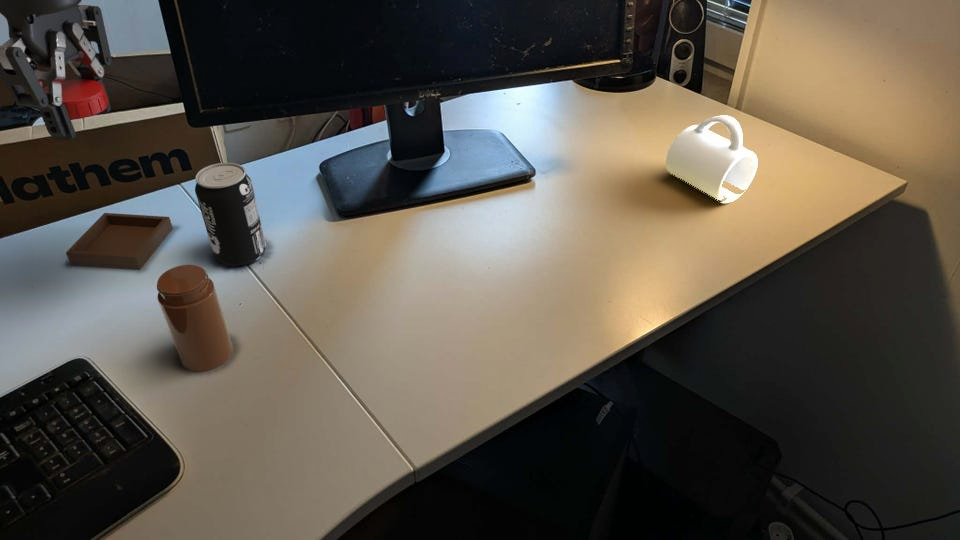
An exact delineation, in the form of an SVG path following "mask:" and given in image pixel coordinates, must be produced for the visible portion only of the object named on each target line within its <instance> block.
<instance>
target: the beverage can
mask: <svg viewBox="0 0 960 540" xmlns="http://www.w3.org/2000/svg"><path fill="white" fill-rule="evenodd" d="M195 182H196V183H195V187H194V193H195V195H196V199H197V203H198V206H199V209H200V214H201V216H202V220H203V224H204V226H205V229H206V233H207V237H208V241H209V243H210V246H211V247H210V248H211V250H212V253H213V257H214V258H215V260H217V262H220V263H222V264H223V265H224V266H225V265H226V266H228V267H229V266H230V267H244V266H249V265H251V264H253V263H254V262H257V261H258V260H259V259H260V258H261V257H262V255H263V254H264V253H265V251H266V248H267V243H266V237H265V233H264V229H263V225H262V220H261V216H260V212H259V208H258V202H257V200H256V195H255V191H254V186H253V182H252V179H251V177H250V176H249V175H248V174H247V173H246V169H245V167H243V165H241V164H239V163H236V162H235V163H234V162H219V163H214V164H209V165H207V166H205V167H202V168H201V169H200V170H199V171H198V172H197V173H196V175H195Z"/></svg>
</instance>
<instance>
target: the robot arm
mask: <svg viewBox="0 0 960 540" xmlns="http://www.w3.org/2000/svg"><path fill="white" fill-rule="evenodd" d="M80 3H82V0H0V15H2V16H3V17H4V19H5V20H6V23H7V26H8V37H9V39H8V40H7V41H5V42H4V43H3V44H2V45H0V78H1V80H2V82H3V83H4V85H5V86H6V88H7V90H8V92H9V94H10V95H11V97H12V98H13V101H14V102H15V104H16V105H17V106H19V107H35V108H37V110H38V111H39V113H40V116H41V119H42V121H43V123H44V127H45V128H46V131H47V133H48V134H49V135H50V136H51V137H52V138H53V139H55V140H59V141H60V140H62V141H71V140H73V139H75V138H76V136H77V133H76V129H75V127H74V125H73V121H72V120H71V119H70V117H69V114H68V111H67V109H66V106H65V103H62V88H61V83H62V81H66V65H67V64H68V65H69V66H70V67H71V68H72V70H73V71H74V73H75V74H76V75H77V76H79V77H80V78H78V79H87V80H94V81H97V82H99V83H101V84H102V86H103V88H104V90H105V92H106V95H107V98H108V106H107V108H106V109H105V110H103V111H102V112H100V113H99V114H102V115H104V114H105V115H106V114H108V113H109V112H110V111H111V110H112V106H111V103H110V97H109V95H108V91H107V89H106V85H105V82H104V80H103V77H104V76H105V69H104V68H105V67H106V66H111V65H112V63H113V58H112V54H111V49H110V45H109V40H108V36H107V32H106V31H107V30H106V27H105V23H104V16H103V13H102V10H101V8H100V6H98V5H89V4H80ZM92 42H93V43H95V44H96V46H97V49H98V52H97V51H96V49H95V48H94V47H93V45H92ZM37 66H39V67H43V68H50V70H49V71H41V70H39V69H38V67H37ZM43 81H46V82H47V86H48V92H49V93H46V92H44V90H43V88H44V87H43ZM24 87H25V88H26V90H27V91H28V92H27V91H26V90H25V88H24Z"/></svg>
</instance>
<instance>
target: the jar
mask: <svg viewBox="0 0 960 540" xmlns="http://www.w3.org/2000/svg"><path fill="white" fill-rule="evenodd" d="M156 290H157V292H158V293H157V301H158V304H159V306H160V307H159V308H160V310H161V312H162V314H163V318H164V320H165V322H166V325H167V327H168V330H169V333H170V335H171V338H172V341H173V343H174V346H175V349H176V352H177V354H178V357H179V359H180V362H181V364H182V366H183V367H184V368H185V369H187V370H188V371H192V372H207V371H211V370H214V369H216V368H219V367H221V366H222V365H224V364H225V363H226V362H228V360H229V359H230V358H231V356H232V355H233V352H234V351H233V350H234V346H233V342H232V339H231V335H230V332H229V330H228V326H227V323H226V319H225V317H224V313H223V309H222V306H221V303H220V300H219V297H218V293H217V290H216V287H215V284H214V281H213V280H212V279H211V278H210V277H209V275H208V273H207V272H206V270H205V269H204V268H203V267H201V266H199V265H196V264H182V265H177V266H175V267H171V268H170V269H167V270H166V271H164V272H163V273H162V274H161V275H160V276H159V277H158V279H157V282H156Z"/></svg>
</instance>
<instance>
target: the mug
mask: <svg viewBox="0 0 960 540" xmlns="http://www.w3.org/2000/svg"><path fill="white" fill-rule="evenodd" d="M715 124H721V125H723V126H724V127H725V128H726V129H727V131H728V134H729V138H730V139H728V138H725V137H723V136H721V135H719V134H717V133H714V132H713V131H711V130H709V128H710V127H712V126H713V125H715ZM665 168H666V170H667V172H668V173H669V172H670V173H669V174H670V175H672V174H673V175H672V176H674V175H675V176H674V177H675V178H677V179H679V178H680V179H679V180H681V179H682V180H681V181H683V180H684V181H685V182H684V181H683V182H684V183H686V182H687V183H686V184H688V183H689V184H688V186H689V185H690V184H691V185H692V186H691V185H690V186H691V187H693V186H694V187H693V188H695V187H696V188H695V189H696V190H698V189H699V190H698V191H700V190H701V191H700V192H702V191H703V192H702V193H703V194H705V193H707V194H708V195H707V194H706V195H707V196H708V197H710V198H712V197H714V198H715V199H714V198H713V199H714V200H716V199H717V200H716V201H717V202H719V201H718V200H722V199H724V197H725V198H727V199H726V200H725V201H723V202H720V203H721V204H730V203H732V202H734V201H736V200H737V199H738V198H740V197H741V196H742V195H743V193H741V194H735V193H733V192H731V191H729V190H728V189H726V188H724V187H722V184H723V181H726V182H728V183H730V184H731V185H734V186H735V187H738V188H739V189H741V190H745V189H746V190H747V189H748V188H749V186H750V184H751V183H752V181H753V179H754V178H755V175H756V172H757V170H758V169H757V168H758V157H757V154H756V153H755V152H753V151H751V150H750V149H747V148H745V147H744V146H743V131H742V128H741V125H740V123H739V122H738V121H737V120H736V119H735V118H734V117H732V116H730V115H727V114H726V115H724V114H723V115H722V114H721V115H715V116H712V117H709V118H707V119H705V120H703V121H702V122H700V123H698V125H697V124H694V125H690V126H687V127H685V128H684V129H683V130H682V131H680V133H678V134H677V135H676V137H675V138H674V139H673V141H672V142H671V144H670V146H669V148H668V151H667V154H666V157H665ZM697 188H698V189H697ZM746 190H745V191H746ZM704 192H705V193H704ZM709 195H710V196H709ZM711 196H712V197H711ZM723 196H724V197H723Z"/></svg>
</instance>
